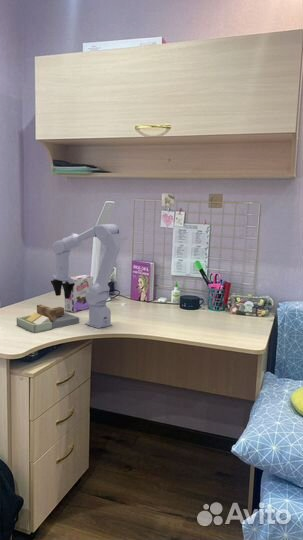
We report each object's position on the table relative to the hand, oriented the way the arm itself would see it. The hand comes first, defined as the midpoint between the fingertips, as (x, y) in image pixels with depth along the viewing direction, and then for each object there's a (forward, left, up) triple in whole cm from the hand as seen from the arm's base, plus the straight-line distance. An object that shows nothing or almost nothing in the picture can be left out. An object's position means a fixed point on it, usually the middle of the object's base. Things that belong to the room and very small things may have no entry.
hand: (62, 296), depth 193 cm
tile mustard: (-2, +15, -8) cm, 17 cm away
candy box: (+9, -15, -10) cm, 20 cm away
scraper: (-5, +8, -7) cm, 11 cm away
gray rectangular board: (-4, +10, -10) cm, 15 cm away
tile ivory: (-8, +15, -8) cm, 18 cm away
